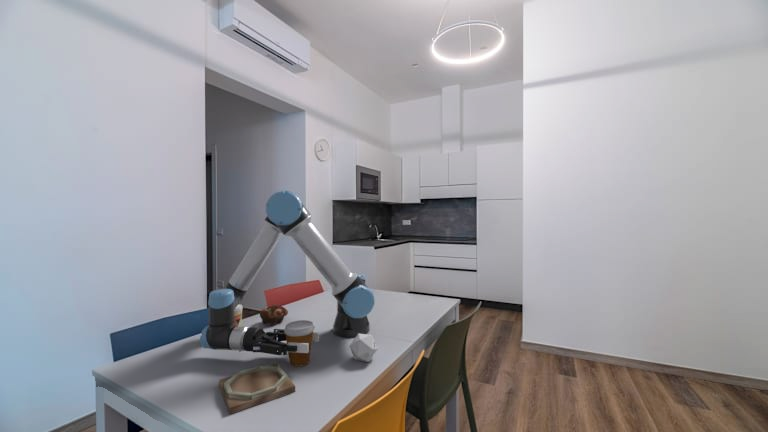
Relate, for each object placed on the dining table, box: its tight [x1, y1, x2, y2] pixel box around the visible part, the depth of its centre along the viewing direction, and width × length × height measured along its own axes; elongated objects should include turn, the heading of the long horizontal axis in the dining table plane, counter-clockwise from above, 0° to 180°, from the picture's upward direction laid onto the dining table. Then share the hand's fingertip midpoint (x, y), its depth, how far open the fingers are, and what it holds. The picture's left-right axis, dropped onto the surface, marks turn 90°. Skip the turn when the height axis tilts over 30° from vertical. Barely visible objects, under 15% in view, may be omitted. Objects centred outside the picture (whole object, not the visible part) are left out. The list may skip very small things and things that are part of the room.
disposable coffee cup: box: [283, 319, 316, 367], centre depth 98 cm, size 10×10×12 cm
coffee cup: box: [234, 303, 244, 326], centre depth 121 cm, size 9×9×12 cm
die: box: [348, 333, 378, 363], centre depth 101 cm, size 8×9×10 cm
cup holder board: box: [218, 363, 296, 415], centre depth 84 cm, size 16×16×2 cm
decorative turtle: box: [259, 305, 289, 326], centre depth 137 cm, size 10×15×8 cm, turn 158°
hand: (313, 342), depth 98 cm, fingers closed on disposable coffee cup, 8 cm apart
